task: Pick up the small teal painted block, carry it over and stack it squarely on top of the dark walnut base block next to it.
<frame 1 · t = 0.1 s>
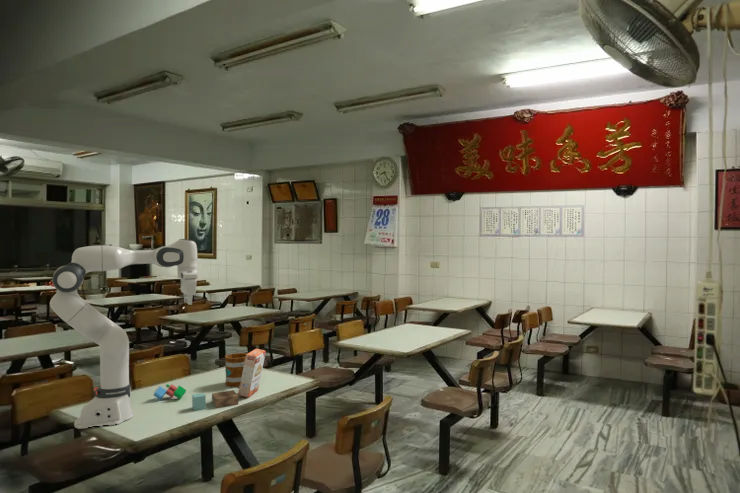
hand: (188, 303, 228), 48 cm above the table, tool pointing down, fingers open, 8 cm apart
teal block: (199, 408, 225), on the table
cracker box: (248, 393, 246), on the table
mug: (240, 385, 262), on the table
building blocks: (170, 399, 239), on the table
walnut base block: (225, 402, 232), on the table
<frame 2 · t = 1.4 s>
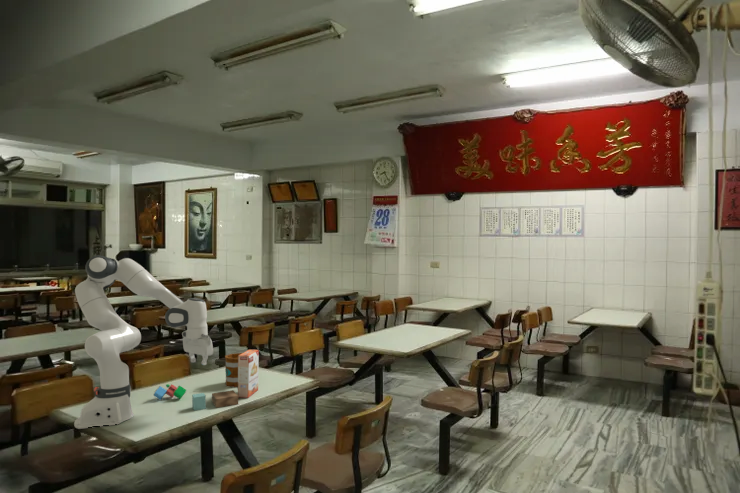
hand: (198, 363, 225), 20 cm above the table, tool pointing down, fingers open, 8 cm apart
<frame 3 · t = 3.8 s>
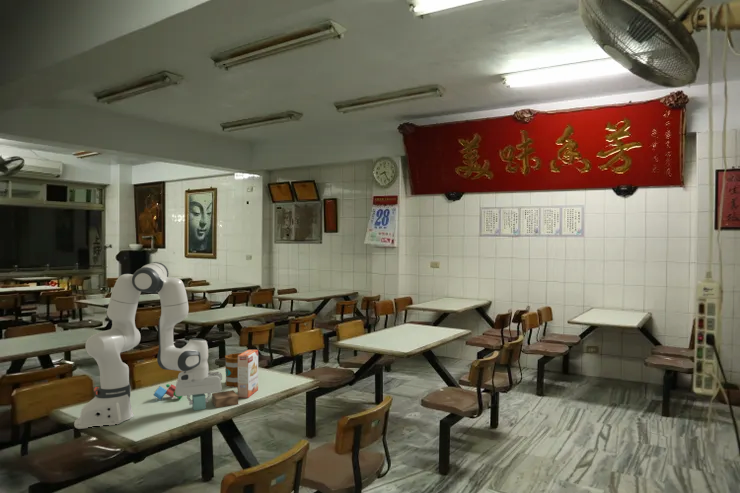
hand: (198, 403, 225), 2 cm above the table, tool pointing down, fingers closed on teal block, 5 cm apart
teal block: (198, 408, 225), on the table, touching gripper
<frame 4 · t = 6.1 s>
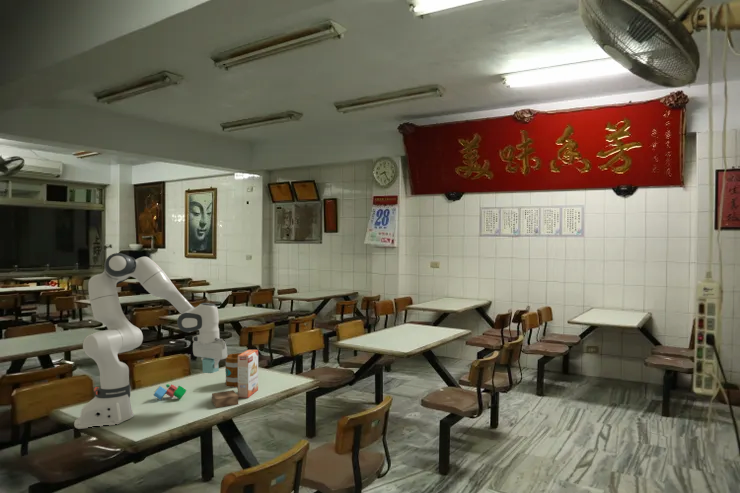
hand: (210, 367, 228), 18 cm above the table, tool pointing down, fingers closed on teal block, 5 cm apart
teal block: (210, 371, 228), point 16 cm above the table, touching gripper
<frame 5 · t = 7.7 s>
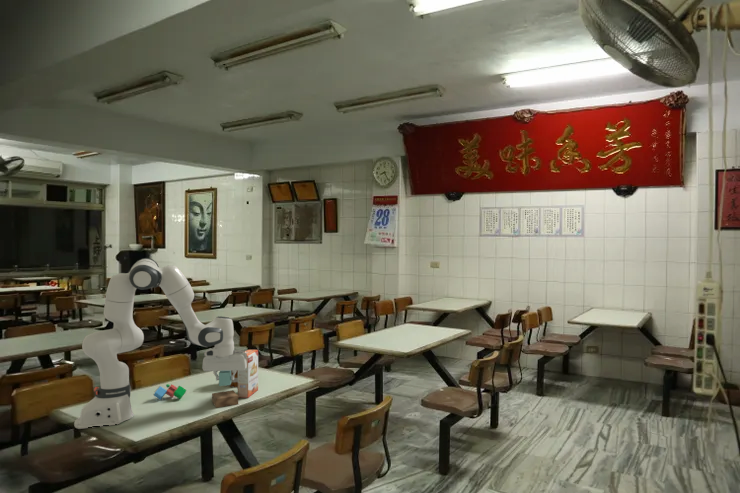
hand: (225, 379, 231), 11 cm above the table, tool pointing down, fingers closed on teal block, 5 cm apart
teal block: (225, 384, 231), point 9 cm above the table, touching gripper
when the fingers open (8 cm above the table, at t = 8.8 s): teal block drops 1 cm, resting on walnut base block.
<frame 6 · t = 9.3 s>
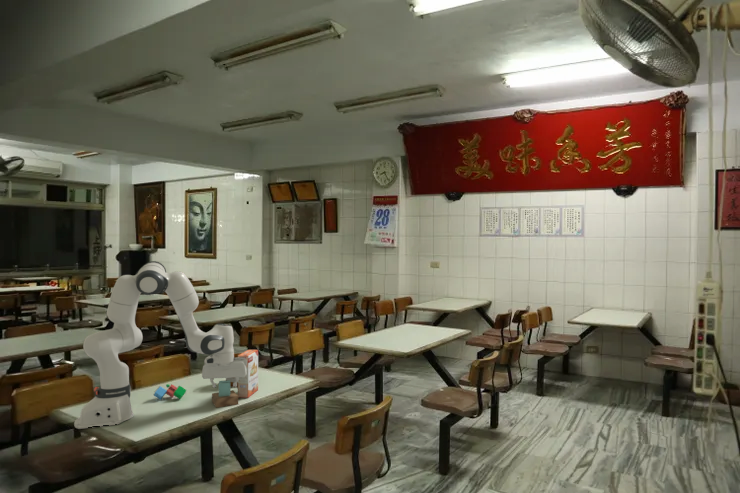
hand: (224, 387, 232), 8 cm above the table, tool pointing down, fingers open, 8 cm apart
teal block: (224, 394, 232), point 4 cm above the table, touching walnut base block
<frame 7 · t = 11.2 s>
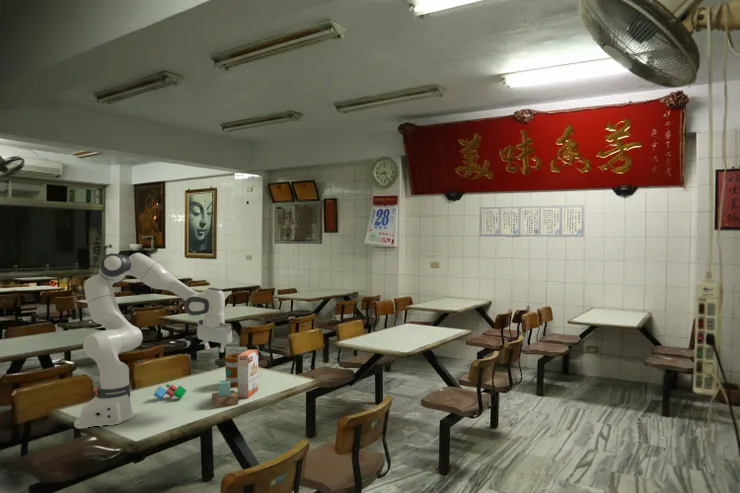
hand: (214, 350, 234), 24 cm above the table, tool pointing down, fingers open, 8 cm apart
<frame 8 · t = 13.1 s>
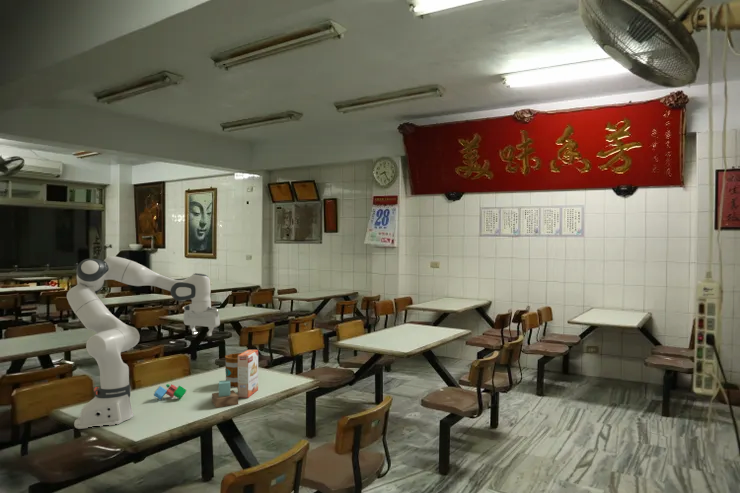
hand: (201, 335, 238), 31 cm above the table, tool pointing down, fingers open, 8 cm apart
at the end: teal block 0.1 cm off-centre on the walnut base block, point 4.0 cm above the walnut base block's base; teal block tilted 0°; the gripper is holding nothing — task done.
